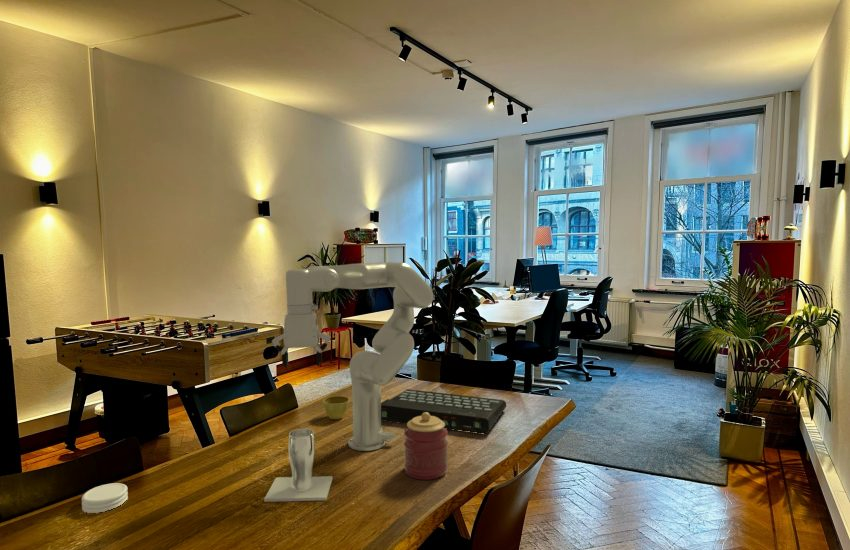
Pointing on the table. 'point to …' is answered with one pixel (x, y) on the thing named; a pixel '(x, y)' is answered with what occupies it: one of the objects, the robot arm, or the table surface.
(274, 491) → the grey mat
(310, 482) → the beer glass
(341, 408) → the flower pot
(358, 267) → the robot arm
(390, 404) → the computer keyboard
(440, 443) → the canister
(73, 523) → the table surface
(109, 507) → the white round disc stack
